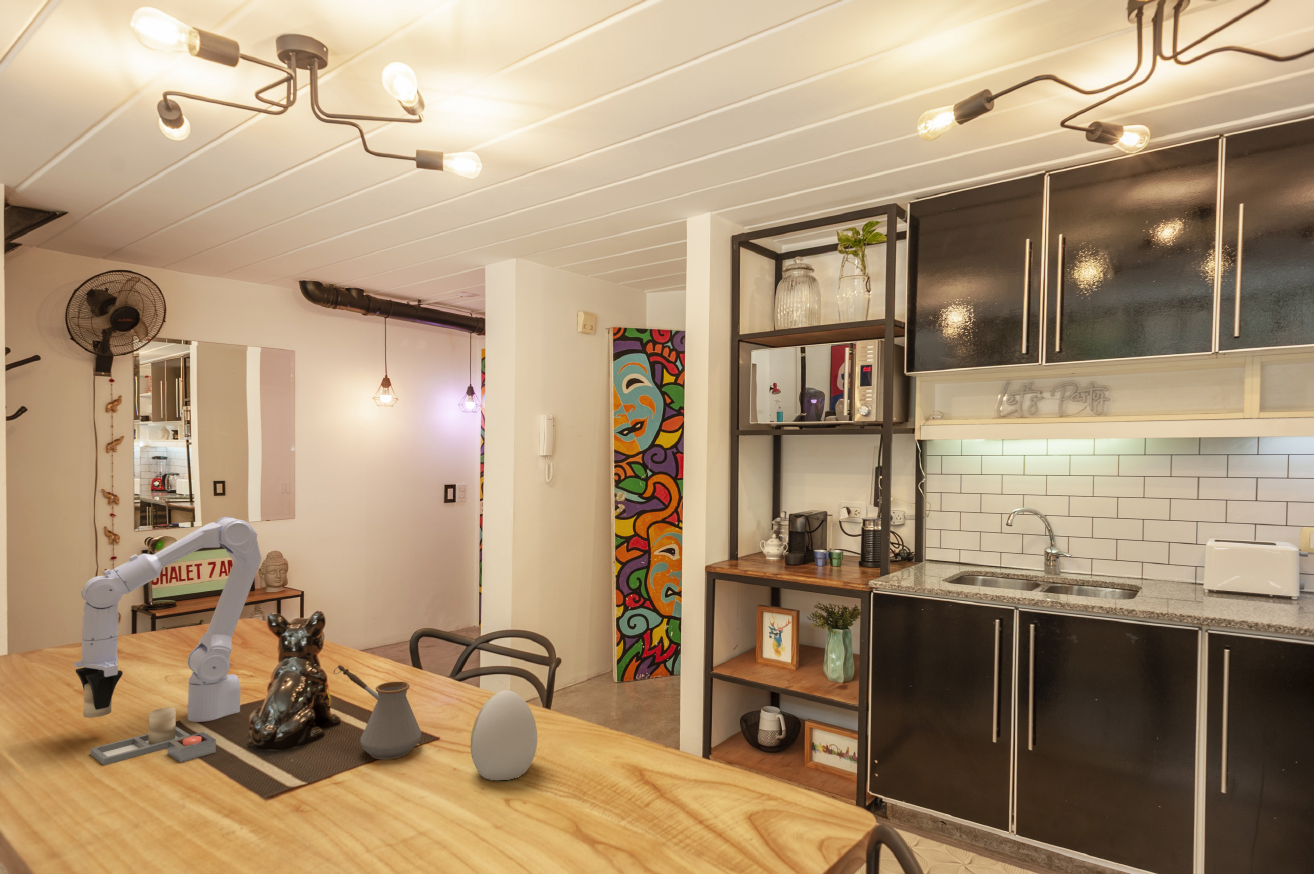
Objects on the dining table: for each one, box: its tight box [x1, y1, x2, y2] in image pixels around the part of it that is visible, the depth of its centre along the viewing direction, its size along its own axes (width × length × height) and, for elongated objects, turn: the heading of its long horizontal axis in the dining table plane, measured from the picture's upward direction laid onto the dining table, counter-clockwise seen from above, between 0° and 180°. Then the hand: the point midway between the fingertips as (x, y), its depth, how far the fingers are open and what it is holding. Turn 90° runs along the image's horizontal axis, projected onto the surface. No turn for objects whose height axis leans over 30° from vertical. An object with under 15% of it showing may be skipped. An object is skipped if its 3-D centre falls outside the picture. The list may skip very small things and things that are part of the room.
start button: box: [183, 736, 202, 746], centre depth 138 cm, size 3×3×2 cm
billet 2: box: [148, 707, 177, 745], centre depth 143 cm, size 4×4×6 cm
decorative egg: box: [470, 690, 538, 781], centre depth 135 cm, size 12×12×15 cm
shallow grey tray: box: [89, 726, 191, 766], centre depth 140 cm, size 14×8×2 cm, turn 143°
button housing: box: [167, 731, 217, 763], centre depth 138 cm, size 6×6×4 cm
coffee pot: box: [333, 664, 422, 760], centre depth 146 cm, size 21×12×15 cm, turn 65°
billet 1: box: [82, 683, 113, 719], centre depth 144 cm, size 4×4×6 cm
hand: (97, 705), depth 144 cm, fingers closed on billet 1, 4 cm apart
